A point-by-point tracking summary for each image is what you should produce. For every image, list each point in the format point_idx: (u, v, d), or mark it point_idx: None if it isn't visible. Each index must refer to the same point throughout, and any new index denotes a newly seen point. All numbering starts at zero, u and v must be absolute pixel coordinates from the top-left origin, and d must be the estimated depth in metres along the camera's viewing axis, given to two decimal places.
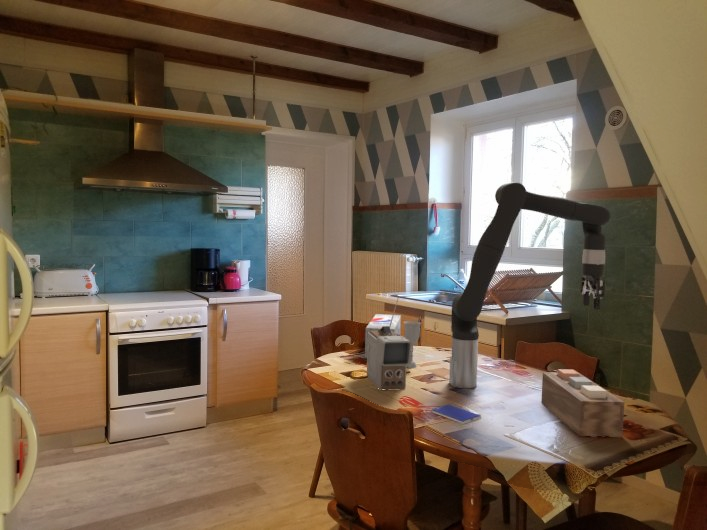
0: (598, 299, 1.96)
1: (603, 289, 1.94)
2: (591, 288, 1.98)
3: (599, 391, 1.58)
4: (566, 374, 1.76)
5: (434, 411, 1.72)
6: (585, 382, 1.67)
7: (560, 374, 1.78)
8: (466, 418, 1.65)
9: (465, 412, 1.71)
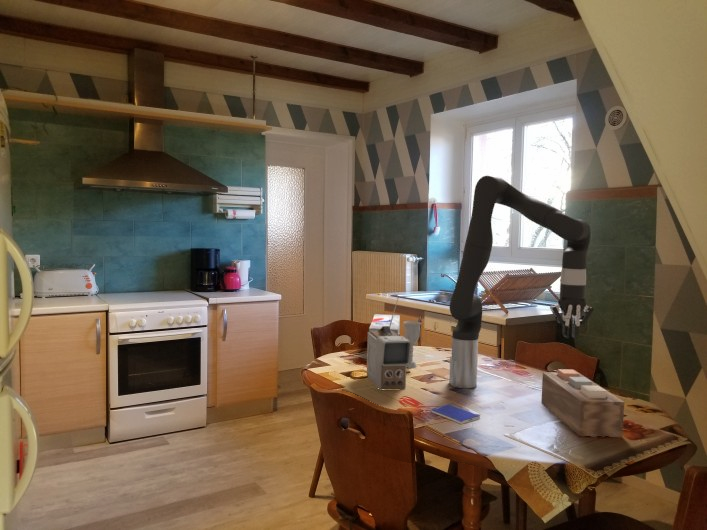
0: None
1: None
2: None
3: (599, 391, 1.58)
4: (566, 374, 1.76)
5: (433, 411, 1.72)
6: (585, 382, 1.67)
7: (560, 374, 1.78)
8: (465, 418, 1.65)
9: (465, 412, 1.70)
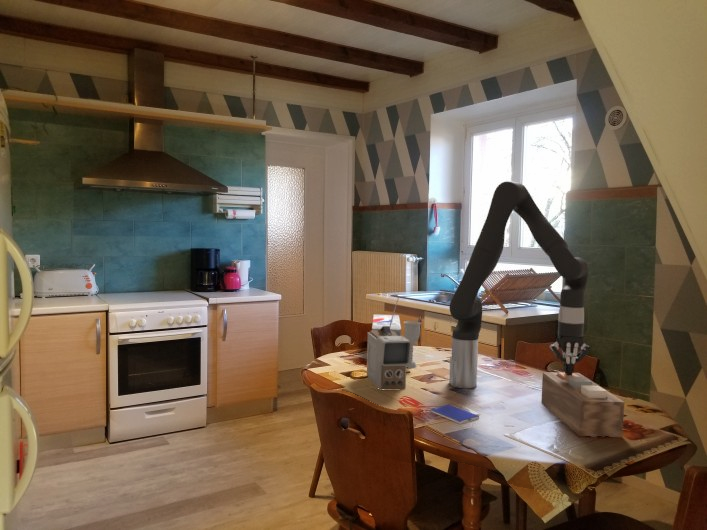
0: None
1: None
2: (576, 352, 1.76)
3: (599, 391, 1.58)
4: (566, 377, 1.76)
5: (432, 411, 1.72)
6: (585, 382, 1.67)
7: (560, 378, 1.78)
8: (464, 418, 1.65)
9: (464, 412, 1.70)
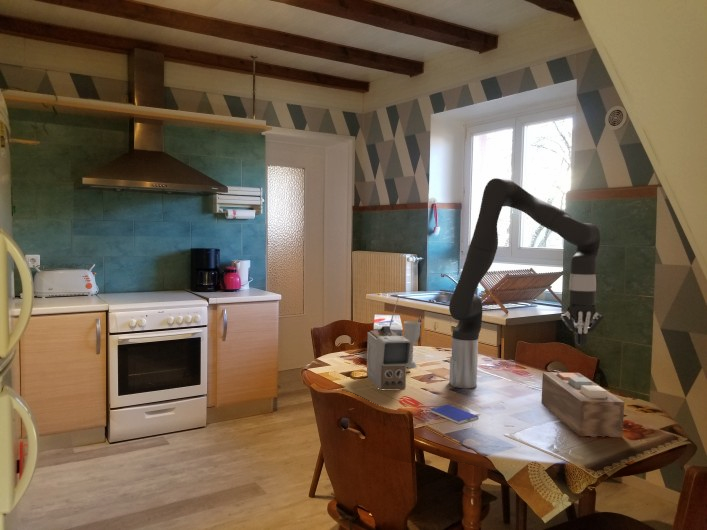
0: None
1: None
2: None
3: (599, 391, 1.58)
4: (566, 378, 1.76)
5: (432, 411, 1.73)
6: (585, 382, 1.67)
7: (560, 378, 1.78)
8: (462, 418, 1.65)
9: (463, 412, 1.70)
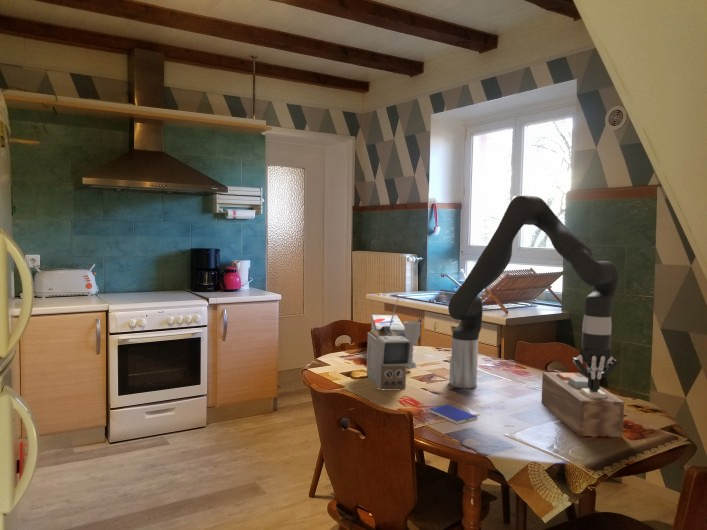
0: None
1: None
2: None
3: (599, 394, 1.58)
4: (566, 378, 1.76)
5: (431, 411, 1.73)
6: (585, 382, 1.67)
7: (560, 378, 1.78)
8: (461, 418, 1.65)
9: (462, 412, 1.70)
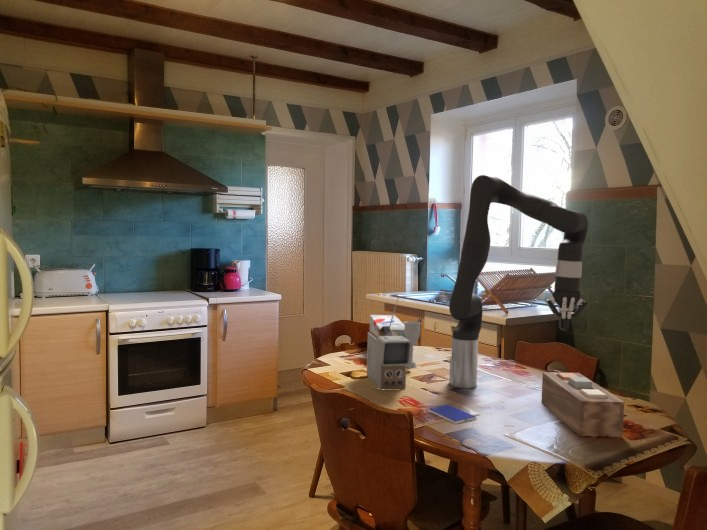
0: None
1: None
2: (572, 307, 1.74)
3: (599, 395, 1.58)
4: (566, 378, 1.76)
5: (430, 410, 1.73)
6: (585, 382, 1.67)
7: (560, 378, 1.78)
8: (460, 418, 1.65)
9: (461, 412, 1.70)
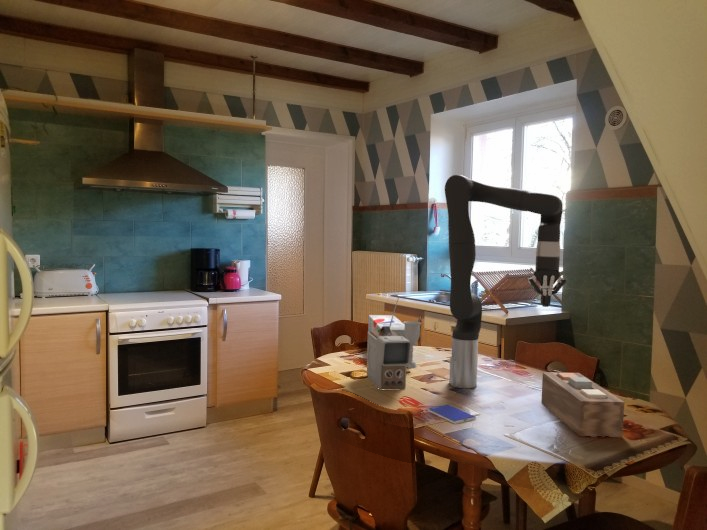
0: None
1: None
2: None
3: (599, 395, 1.58)
4: (566, 378, 1.76)
5: (430, 411, 1.73)
6: (585, 382, 1.67)
7: (560, 378, 1.78)
8: (459, 418, 1.65)
9: (461, 412, 1.70)
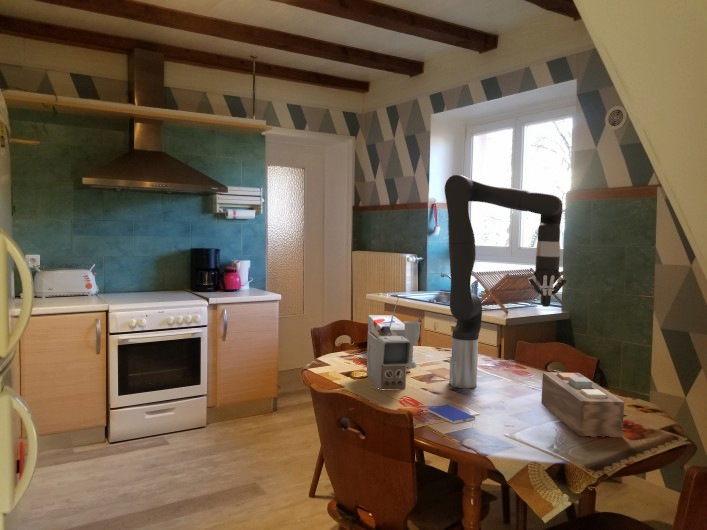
0: None
1: None
2: None
3: (599, 395, 1.58)
4: (566, 378, 1.76)
5: (429, 410, 1.73)
6: (585, 382, 1.67)
7: (560, 378, 1.78)
8: (458, 418, 1.65)
9: (460, 412, 1.70)
